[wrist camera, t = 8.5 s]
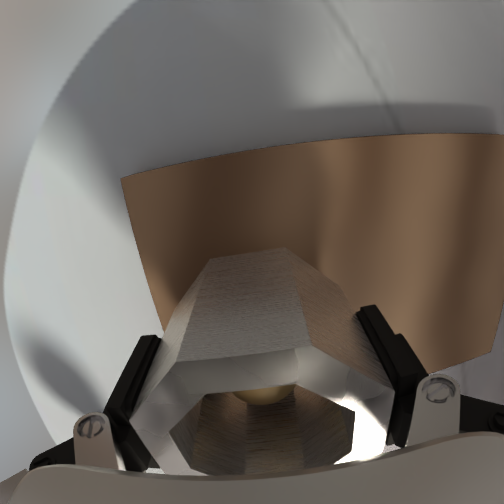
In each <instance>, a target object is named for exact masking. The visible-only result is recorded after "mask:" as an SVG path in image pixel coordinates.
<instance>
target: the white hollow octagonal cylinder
mask: <svg viewBox="0 0 504 504" xmlns="http://www.w3.org/2000/svg"><path fill="white" fill-rule="evenodd" d="M291 384H296V386H295V387H294V389H293V390H292V391H291V392H290V393H289V394H288V395H287V396H286V397H285V398H283V399H281V400H280V401H278V402H275V403H272V404H267V405H254V404H250V403H247V402H244V401H242V400H241V399H239V398H237V397H236V396H235V395H234V394H233V393H232V392H233V391H244V390H253V389H262V388H270V387H277V386H284V385H291ZM394 395H395V391H394V389H393V387H392V385H391V383H390V381H389V378H388V376H387V374H386V372H385V370H384V368H383V366H382V364H381V362H380V360H379V358H378V357H377V355H376V353H375V351H374V349H373V347H372V345H371V343H370V341H369V339H368V337H367V335H366V333H365V331H364V329H363V328H362V326H361V324H360V322H359V320H358V318H357V316H356V314H355V313H354V311H353V309H352V307H351V305H350V303H349V302H348V300H347V298H346V296H345V294H344V292H343V291H342V289H341V287H340V286H339V285H337V284H336V283H335V282H333V281H332V280H330V279H329V278H328V277H326V276H325V275H323V274H322V273H321V272H319V271H318V270H316V269H315V268H314V267H312V266H311V265H309V264H308V263H307V262H305V261H304V260H302V259H301V258H299V257H298V256H297V255H295V254H294V253H292V252H291V251H289V250H288V249H287V248H285V247H284V248H277V249H271V250H264V251H258V252H251V253H245V254H238V255H232V256H226V257H219V258H213V259H210V260H209V261H208V262H207V264H206V265H205V267H204V268H203V270H202V271H201V272H200V274H199V275H198V277H197V278H196V280H195V281H194V282H193V284H192V285H191V287H190V288H189V290H188V291H187V292H186V294H185V295H184V297H183V298H182V300H181V301H180V303H179V304H178V305H177V307H176V308H175V310H174V312H173V314H172V316H171V319H170V321H169V323H168V326H167V328H166V330H165V333H164V335H163V337H162V340H161V342H160V345H159V347H158V349H157V352H156V354H155V357H154V359H153V362H152V364H151V367H150V369H149V372H148V374H147V377H146V379H145V382H144V384H143V387H142V389H141V392H140V394H139V397H138V399H137V402H136V405H135V407H134V410H133V412H132V415H131V418H130V420H129V422H130V423H131V425H132V426H133V428H134V430H135V431H136V433H137V434H138V436H139V437H140V439H141V440H142V442H143V443H144V445H145V446H146V448H147V449H148V451H149V452H150V453H151V455H152V456H153V458H154V459H155V461H156V462H157V463H158V465H159V466H160V467H161V469H162V470H163V471H164V473H165V474H169V475H195V476H223V475H248V474H263V473H274V472H284V471H293V470H300V469H308V468H314V467H321V466H327V465H332V464H338V463H343V462H348V461H352V460H357V459H361V458H366V457H370V456H374V455H377V454H379V453H380V452H382V451H383V447H384V443H385V438H386V434H387V430H388V425H389V420H390V416H391V411H392V405H393V400H394Z"/></svg>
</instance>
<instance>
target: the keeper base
mask: <svg viewBox="0 0 504 504" xmlns="http://www.w3.org/2000/svg"><path fill="white" fill-rule="evenodd" d="M121 183H122V188H123V192H124V197H125V201H126V205H127V209H128V213H129V217H130V221H131V225H132V229H133V233H134V237H135V240H136V244H137V248H138V251H139V255H140V258H141V262H142V265H143V269H144V272H145V275H146V279H147V282H148V285H149V288H150V292H151V295H152V298H153V301H154V304H155V307H156V310H157V313H158V316H159V319H160V322H161V325H162V328H163V331H164V333H165V330H166V328H167V326H168V323H169V321H170V319H171V316H172V314H173V312H174V310H175V308H176V307H177V305H178V304H179V303H180V301H181V300H182V298H183V297H184V295H185V294H186V292H187V291H188V290H189V288H190V287H191V285H192V284H193V282H194V281H195V280H196V278H197V277H198V275H199V274H200V272H201V271H202V270H203V268H204V267H205V265H206V264H207V262H208V261H209V260H210V259H213V258H219V257H226V256H232V255H238V254H245V253H251V252H258V251H264V250H271V249H277V248H284V247H285V248H287V249H288V250H289V251H291V252H292V253H294V254H295V255H297V256H298V257H299V258H301V259H302V260H304V261H305V262H307V263H308V264H309V265H311V266H312V267H314V268H315V269H316V270H318V271H319V272H321V273H322V274H323V275H325V276H326V277H328V278H329V279H330V280H332V281H333V282H335V283H336V284H337V285H339V286H340V287H341V289H342V291H343V292H344V294H345V296H346V298H347V300H348V302H349V303H350V305H351V307H352V309H353V311H354V313H355V314H356V312H357V311H360V308H361V307H363V306H368V305H373V304H375V305H376V306H377V307H378V309H379V310H380V312H381V313H382V315H383V316H384V318H385V319H386V321H387V322H388V324H389V326H390V327H391V329H392V330H393V332H394V333H395V334H399V333H401V334H402V335H403V336H404V337H405V339H406V340H407V342H408V343H409V345H410V346H411V348H412V349H413V351H414V353H415V354H416V356H417V357H418V359H419V360H420V362H421V363H422V365H423V367H424V368H425V370H426V371H427V373H428V374H430V373H433V372H436V371H439V370H442V369H445V368H448V367H451V366H454V365H457V364H460V363H463V362H465V361H468V360H471V359H473V358H476V357H478V356H481V355H484V354H486V353H489V352H491V349H492V346H493V342H494V339H495V335H496V331H497V327H498V324H499V319H500V315H501V311H502V306H503V302H504V135H500V134H475V133H426V134H397V135H379V136H365V137H352V138H341V139H331V140H321V141H312V142H304V143H296V144H288V145H281V146H274V147H267V148H261V149H254V150H248V151H242V152H236V153H230V154H225V155H219V156H214V157H209V158H204V159H199V160H194V161H189V162H184V163H180V164H175V165H171V166H166V167H162V168H158V169H153V170H149V171H145V172H141V173H137V174H133V175H130V176H127V177H124V178H121ZM295 386H296V384H291V385H284V386H277V387H270V388H262V389H253V390H244V391H233V392H232V393H233V394H234V395H235V396H236V397H237V398H239V399H241V400H242V401H244V402H247V403H250V404H254V405H267V404H272V403H275V402H278V401H280V400H281V399H283V398H285V397H286V396H287V395H288V394H289V393H290V392H291V391H292V390H293V389H294V387H295Z"/></svg>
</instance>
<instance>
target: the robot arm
mask: <svg viewBox="0 0 504 504" xmlns="http://www.w3.org/2000/svg"><path fill="white" fill-rule="evenodd" d="M356 316H357V318H358V320H359V322H360V324H361V326H362V328H363V329H364V331H365V333H366V335H367V337H368V339H369V341H370V343H371V345H372V347H373V349H374V351H375V353H376V355H377V357H378V358H379V360H380V362H381V364H382V366H383V368H384V370H385V372H386V374H387V376H388V378H389V381H390V383H391V385H392V387H393V389H394V391H395V395H394V400H393V405H392V411H391V416H390V420H389V425H388V430H387V434H386V438H385V442H386V445H387V446H388V445H392V444H395V445H396V446H398V447H401V449H397V450H394V451H390V452H386V453H382V454H378V455H374V456H370V457H366V458H361V459H357V460H352V461H348V462H343V463H338V464H332V465H327V466H321V467H314V468H308V469H300V470H293V471H284V472H274V473H263V474H248V475H223V476H195V475H169V474H155V473H146V471H145V470H147V469H148V468H160V466H159V465H158V463H157V462H156V461H155V459H154V458H153V456H152V455H151V453H150V452H149V451H148V449H147V448H146V446H145V445H144V443H143V442H142V440H141V439H140V437H139V436H138V434H137V433H136V431H135V430H134V428H133V426H132V425H131V423H130V422H129V420H130V418H131V415H132V412H133V410H134V407H135V405H136V402H137V399H138V397H139V394H140V392H141V389H142V387H143V384H144V382H145V379H146V377H147V374H148V372H149V369H150V367H151V364H152V362H153V359H154V357H155V354H156V352H157V349H158V347H159V345H160V342H161V340H162V339H161V338H158V337H157V335H144V336H141V337H140V339H139V341H138V343H137V345H136V347H135V349H134V351H133V353H132V355H131V356H130V358H129V360H128V362H127V364H126V366H125V368H124V370H123V372H122V374H121V376H120V378H119V380H118V382H117V384H116V386H115V388H114V390H113V392H112V394H111V396H110V398H109V400H108V402H107V404H106V406H105V409H104V411H103V413H100V412H92V413H88V414H86V415H84V416H82V417H81V418H79V420H78V421H77V422H76V423H75V425H74V429H73V438H71V439H69V440H67V441H65V442H63V443H61V444H59V445H57V446H55V447H54V448H51V449H49V450H47V451H45V452H43V453H41V454H39V455H38V456H36V457H35V458H34V459H33V460H32V462H31V464H30V468H29V471H27V469H24V470H22V471H20V472H19V473H17V474H15V475H13V476H12V477H10V478H8V479H6V480H4V481H2V482H1V483H0V504H504V405H500V404H495V403H491V402H487V401H483V400H480V399H476V398H472V397H468V396H464V395H461V394H460V386H459V384H458V383H457V381H456V380H454V379H453V378H452V377H449V376H447V375H442V374H433V375H430V376H429V375H428V373H427V371H426V370H425V368H424V367H423V365H422V363H421V362H420V360H419V359H418V357H417V356H416V354H415V353H414V351H413V349H412V348H411V346H410V345H409V343H408V342H407V340H406V339H405V337H404V336H403V335H402V334H401V333H399V334H395V333H394V332H393V330H392V329H391V327H390V326H389V324H388V322H387V321H386V319H385V318H384V316H383V315H382V313H381V312H380V310H379V309H378V307H377V306H376V305H375V304H373V305H368V306H363V307H361V308H360V311H357V312H356Z"/></svg>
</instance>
